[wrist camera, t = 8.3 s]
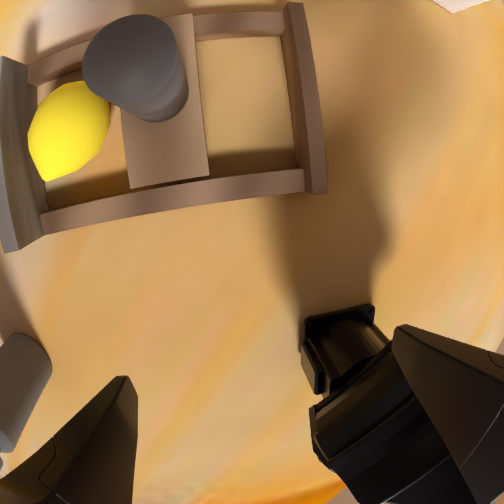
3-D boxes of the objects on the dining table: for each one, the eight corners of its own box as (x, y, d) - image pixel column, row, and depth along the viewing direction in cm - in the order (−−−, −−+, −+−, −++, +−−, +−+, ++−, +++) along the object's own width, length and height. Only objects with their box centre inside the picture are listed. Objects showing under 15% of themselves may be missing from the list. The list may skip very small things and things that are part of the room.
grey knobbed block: (195, 46, 16) (186, -54, 5) (209, 171, 19) (209, 186, 8) (137, 56, 15) (77, -26, 5) (150, 180, 18) (82, 210, 8)
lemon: (80, 82, 16) (53, 54, 11) (136, 107, 17) (120, 80, 12) (34, 166, 16) (-5, 161, 11) (88, 196, 18) (57, 198, 13)
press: (291, 20, 16) (312, -11, 11) (312, 187, 20) (341, 197, 16) (23, 76, 14) (-13, 65, 9) (39, 233, 18) (4, 253, 14)
